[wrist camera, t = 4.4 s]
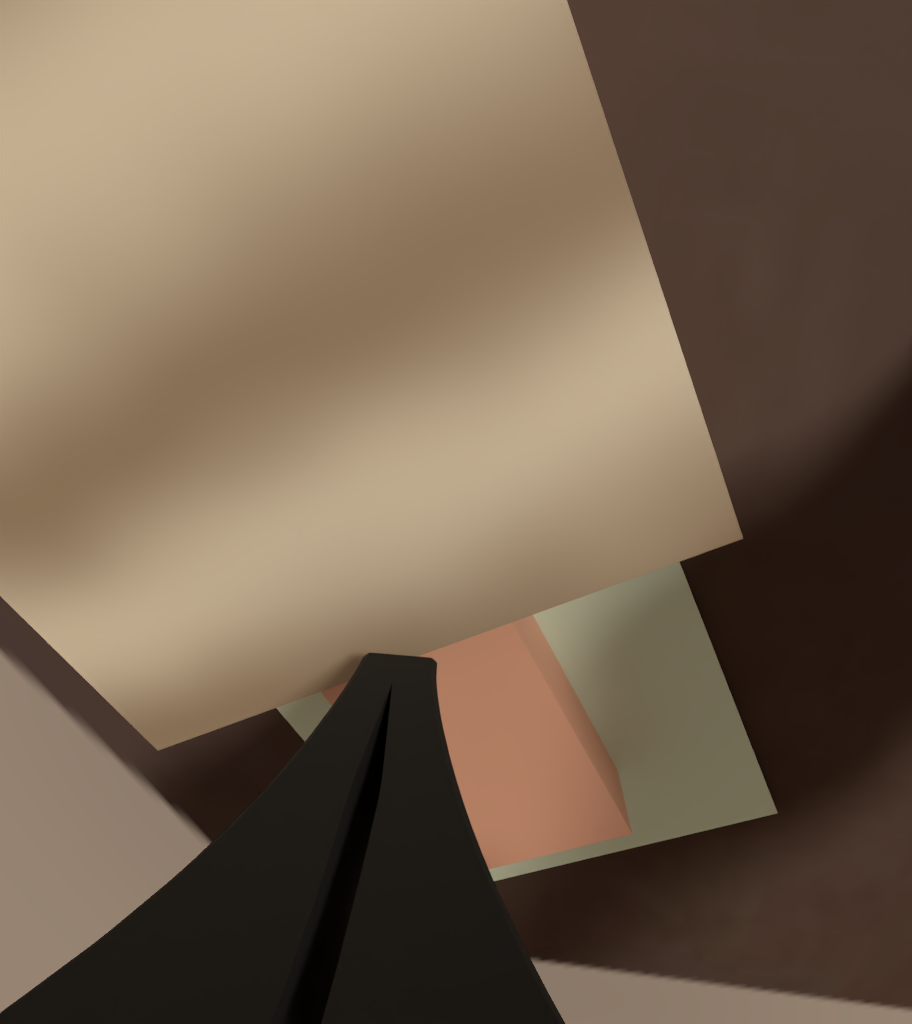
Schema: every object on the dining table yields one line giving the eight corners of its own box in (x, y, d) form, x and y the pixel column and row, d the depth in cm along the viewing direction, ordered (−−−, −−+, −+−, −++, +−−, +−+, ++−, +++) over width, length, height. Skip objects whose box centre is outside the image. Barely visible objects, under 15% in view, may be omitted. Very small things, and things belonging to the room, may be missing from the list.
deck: (-232, 161, 11) (-460, 144, 8) (384, -399, 8) (326, -735, 5) (211, 664, 16) (157, 750, 14) (691, 472, 13) (743, 539, 10)
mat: (241, 655, 16) (237, 662, 16) (650, 492, 13) (653, 497, 13) (436, 886, 21) (435, 894, 21) (773, 804, 18) (777, 813, 18)
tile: (337, 632, 15) (316, 686, 14) (507, 566, 14) (508, 616, 12) (468, 811, 18) (466, 874, 17) (617, 770, 17) (632, 833, 15)
